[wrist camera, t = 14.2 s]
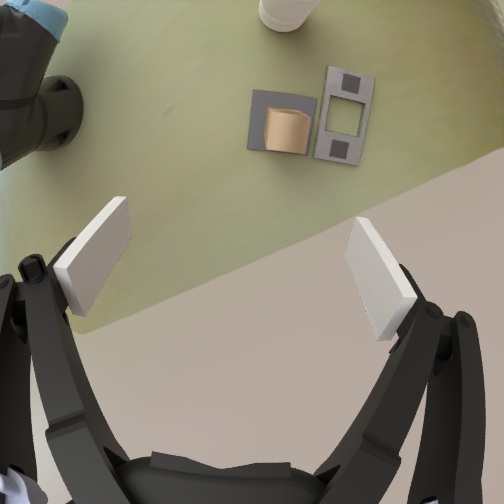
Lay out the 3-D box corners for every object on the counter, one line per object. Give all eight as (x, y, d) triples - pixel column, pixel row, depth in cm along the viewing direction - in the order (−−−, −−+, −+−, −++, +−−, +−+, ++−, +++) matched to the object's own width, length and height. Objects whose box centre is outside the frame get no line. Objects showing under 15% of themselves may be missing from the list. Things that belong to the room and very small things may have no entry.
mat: (247, 148, 43) (247, 148, 42) (253, 89, 37) (253, 89, 37) (306, 155, 43) (307, 155, 43) (316, 98, 38) (316, 98, 37)
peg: (263, 135, 41) (266, 149, 33) (267, 106, 38) (270, 111, 30) (294, 139, 41) (304, 154, 33) (298, 110, 39) (310, 117, 30)
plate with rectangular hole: (312, 156, 43) (314, 158, 42) (326, 65, 34) (328, 65, 33) (355, 163, 44) (358, 165, 43) (372, 78, 35) (375, 78, 34)
